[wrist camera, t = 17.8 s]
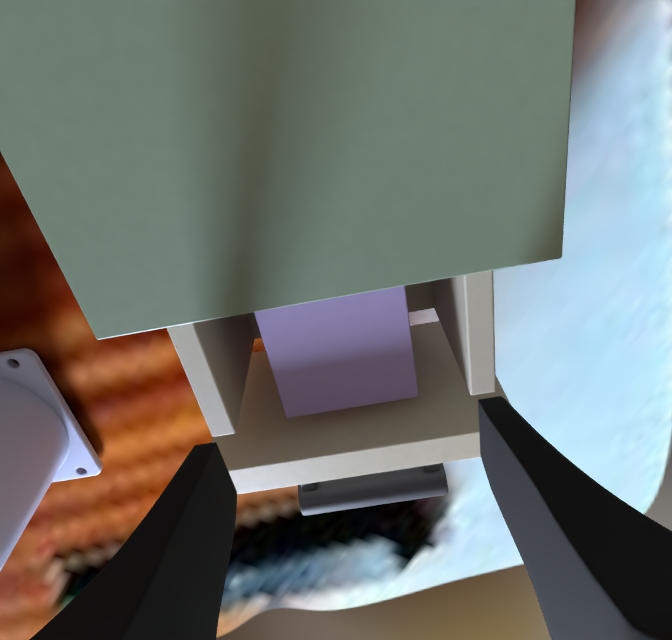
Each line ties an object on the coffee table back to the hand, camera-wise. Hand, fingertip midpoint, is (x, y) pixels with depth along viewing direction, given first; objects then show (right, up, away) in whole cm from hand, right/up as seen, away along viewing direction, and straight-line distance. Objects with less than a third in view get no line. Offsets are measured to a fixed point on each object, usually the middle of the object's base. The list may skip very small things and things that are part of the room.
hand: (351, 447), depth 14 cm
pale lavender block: (0, +2, +5) cm, 5 cm away
